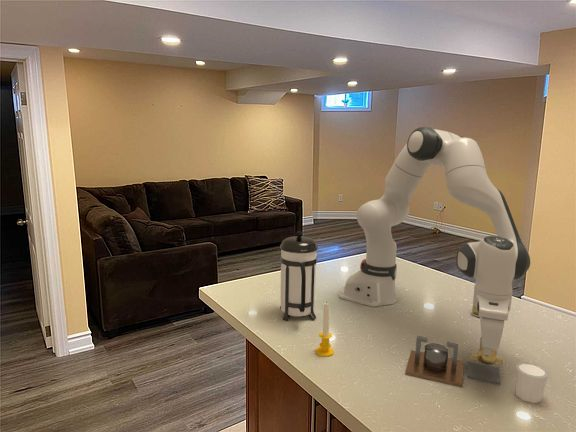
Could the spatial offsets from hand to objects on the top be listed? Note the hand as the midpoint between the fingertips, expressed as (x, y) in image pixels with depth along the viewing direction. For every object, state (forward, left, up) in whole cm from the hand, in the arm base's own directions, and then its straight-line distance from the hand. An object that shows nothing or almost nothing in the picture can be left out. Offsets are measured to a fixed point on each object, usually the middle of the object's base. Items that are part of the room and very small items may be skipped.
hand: (486, 349), depth 111 cm
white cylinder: (+10, -6, -7) cm, 14 cm away
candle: (-42, -7, -7) cm, 43 cm away
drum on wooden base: (-12, -3, -7) cm, 14 cm away
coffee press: (-58, +13, -7) cm, 60 cm away
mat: (0, 0, -7) cm, 7 cm away
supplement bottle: (0, +41, -7) cm, 42 cm away
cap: (0, 0, -3) cm, 3 cm away
